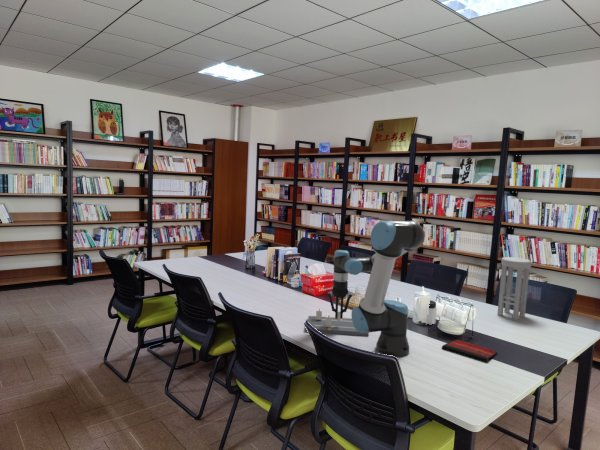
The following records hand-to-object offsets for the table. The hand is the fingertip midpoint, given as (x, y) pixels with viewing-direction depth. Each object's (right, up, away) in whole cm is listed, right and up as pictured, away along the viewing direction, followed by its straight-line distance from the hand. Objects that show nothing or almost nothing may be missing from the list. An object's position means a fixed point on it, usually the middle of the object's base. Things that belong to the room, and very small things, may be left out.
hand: (338, 324), depth 218 cm
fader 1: (-10, +1, +11) cm, 15 cm away
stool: (+109, -4, +37) cm, 115 cm away
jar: (+52, -4, +19) cm, 56 cm away
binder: (+61, -9, -19) cm, 64 cm away
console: (0, -3, +6) cm, 6 cm away
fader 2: (-5, -1, +1) cm, 5 cm away
